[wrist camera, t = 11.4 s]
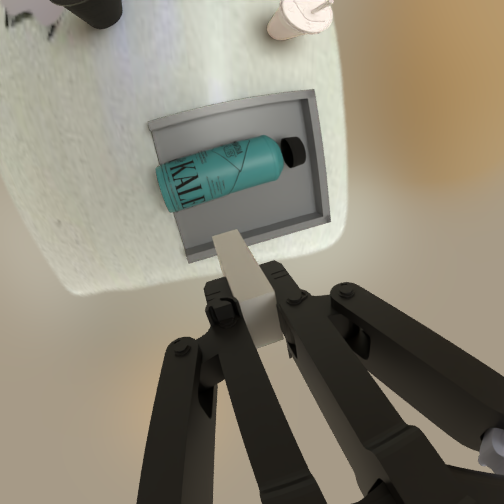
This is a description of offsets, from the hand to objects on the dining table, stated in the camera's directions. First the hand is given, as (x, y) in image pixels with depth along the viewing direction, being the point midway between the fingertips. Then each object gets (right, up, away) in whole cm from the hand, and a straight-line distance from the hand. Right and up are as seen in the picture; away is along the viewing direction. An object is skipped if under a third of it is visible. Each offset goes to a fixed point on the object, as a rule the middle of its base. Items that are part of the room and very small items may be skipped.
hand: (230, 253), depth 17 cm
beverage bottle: (-11, +7, +17) cm, 22 cm away
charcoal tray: (0, +11, +23) cm, 26 cm away
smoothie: (+5, +31, +15) cm, 35 cm away
